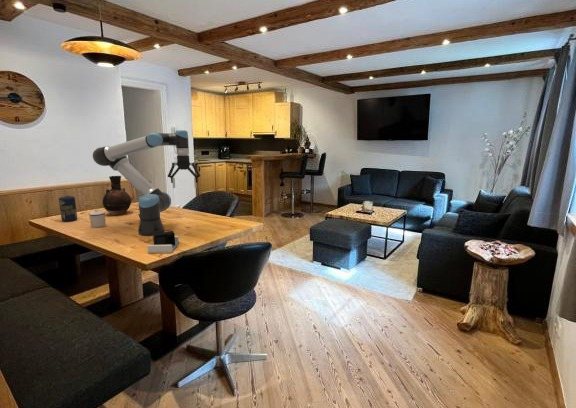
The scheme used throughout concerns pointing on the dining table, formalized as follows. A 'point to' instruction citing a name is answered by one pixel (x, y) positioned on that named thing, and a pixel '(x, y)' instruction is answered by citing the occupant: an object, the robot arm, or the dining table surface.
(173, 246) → the cradle
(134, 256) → the dining table surface
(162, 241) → the digital camera
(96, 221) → the teacup with lid
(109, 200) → the ceramic vessel
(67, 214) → the canister
